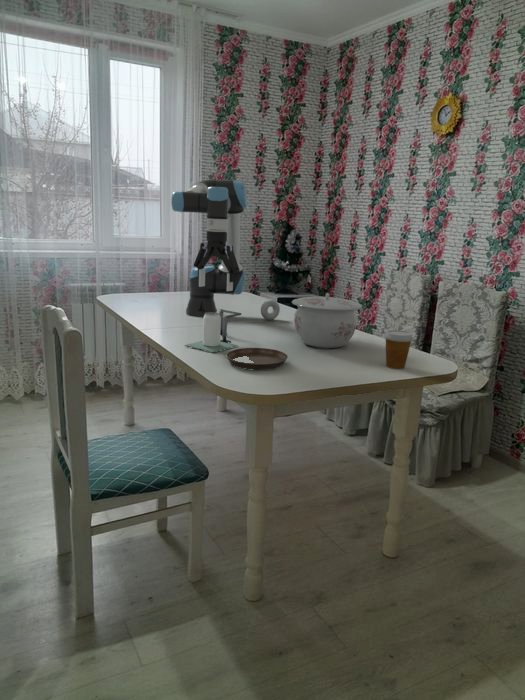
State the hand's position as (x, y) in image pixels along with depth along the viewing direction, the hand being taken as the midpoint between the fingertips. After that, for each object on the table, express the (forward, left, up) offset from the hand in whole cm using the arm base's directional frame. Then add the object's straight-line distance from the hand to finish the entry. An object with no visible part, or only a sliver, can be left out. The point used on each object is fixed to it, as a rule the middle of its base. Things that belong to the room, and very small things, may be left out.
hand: (215, 288), depth 202 cm
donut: (-12, +56, -21) cm, 61 cm away
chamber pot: (+32, +30, -21) cm, 49 cm away
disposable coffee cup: (+66, +19, -21) cm, 72 cm away
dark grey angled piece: (-3, +10, -21) cm, 23 cm away
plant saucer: (+29, -12, -22) cm, 38 cm away
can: (+3, -5, -21) cm, 22 cm away
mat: (+3, -5, -21) cm, 22 cm away
